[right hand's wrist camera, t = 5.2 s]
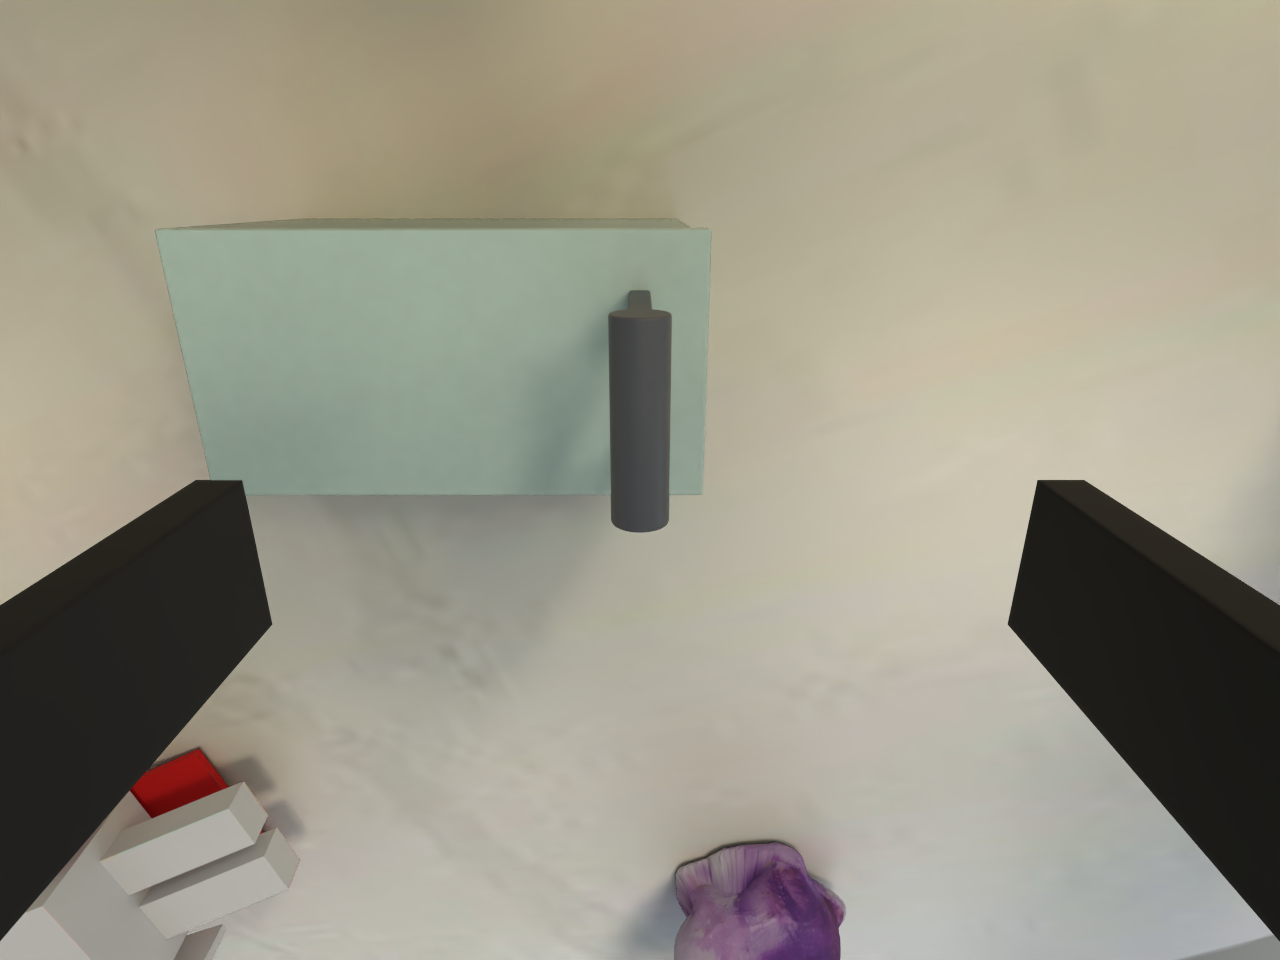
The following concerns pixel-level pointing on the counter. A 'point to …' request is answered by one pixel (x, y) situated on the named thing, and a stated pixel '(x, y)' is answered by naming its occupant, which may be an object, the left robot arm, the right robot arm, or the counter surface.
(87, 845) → the toy
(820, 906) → the figurine
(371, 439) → the lid
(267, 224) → the chest
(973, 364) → the counter surface
